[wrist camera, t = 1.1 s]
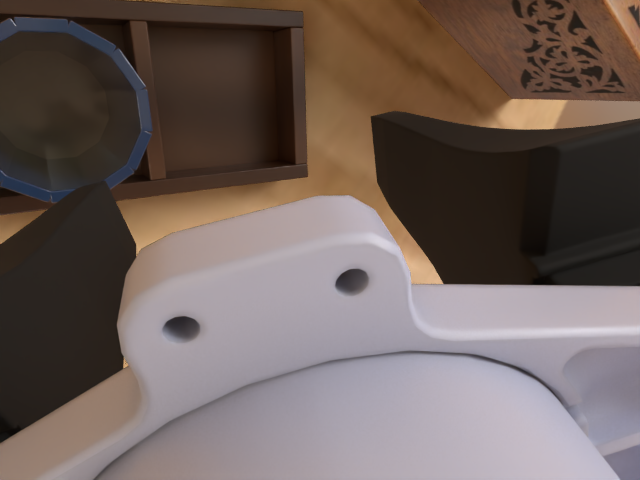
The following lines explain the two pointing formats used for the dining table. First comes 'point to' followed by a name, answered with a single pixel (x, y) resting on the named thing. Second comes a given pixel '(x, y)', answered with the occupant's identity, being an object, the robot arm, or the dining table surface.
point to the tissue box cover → (550, 45)
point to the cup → (67, 109)
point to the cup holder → (199, 91)
